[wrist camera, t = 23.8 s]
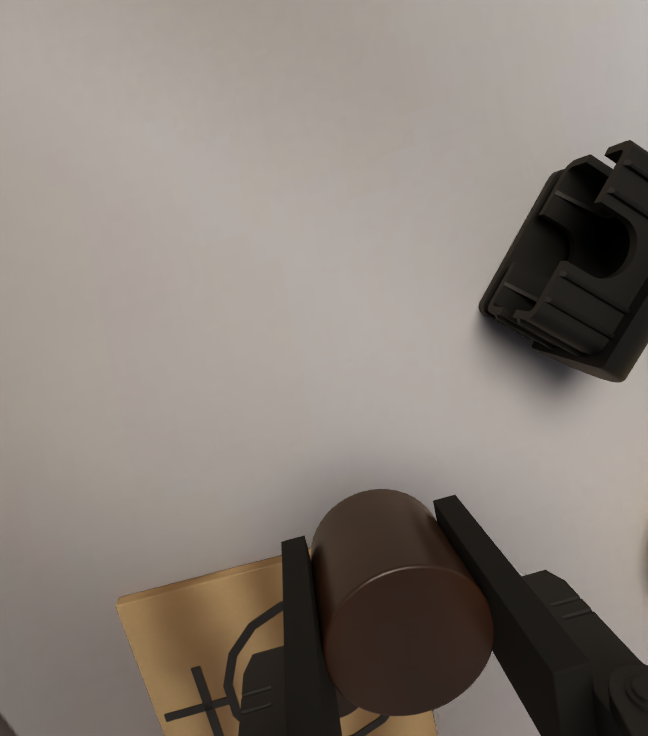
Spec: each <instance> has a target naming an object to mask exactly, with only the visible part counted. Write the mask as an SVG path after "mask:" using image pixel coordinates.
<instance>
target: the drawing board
mask: <svg viewBox="0 0 648 736" xmlns="http://www.w3.org/2000/svg"><path fill="white" fill-rule="evenodd" d="M308 551H309V555H310V558H311V548H308ZM116 609H117V612H118V615H119V617H120V620H121V622H122V625H123V628H124V630H125V633H126V636H127V638H128V641H129V643H130V646H131V649H132V651H133V654H134V657H135V659H136V662H137V664H138V667H139V670H140V672H141V675H142V678H143V680H144V683H145V685H146V688H147V691H148V693H149V696H150V699H151V701H152V704H153V706H154V709H155V712H156V714H157V717H158V719H159V722H160V725H161V727H162V730H163V733H164V735H165V736H238V733H239V720H240V716H241V713H240V708H241V698H242V683H243V673H244V671H245V669H246V667H247V665H248V663H249V661H250V658H251V656H252V654H255V653H259V652H262V651H266V650H269V649H273V648H276V647H280V646H283V645H284V627H283V584H282V555H281V556H277V557H273V558H269V559H265V560H261V561H258V562H254V563H250V564H246V565H242V566H238V567H235V568H231V569H227V570H223V571H219V572H215V573H211V574H208V575H204V576H200V577H196V578H192V579H188V580H185V581H181V582H177V583H173V584H169V585H165V586H162V587H158V588H154V589H150V590H146V591H142V592H139V593H135V594H131V595H127V596H123V597H120V598H119V599H118V601H117V604H116ZM340 723H341V730H342V736H437V732H436V727H435V722H434V717H433V712H432V710H431V711H428V712H425V713H421V714H417V715H410V716H386V715H380V714H375V713H372V712H369V711H366V710H364V709H362V708H360V707H359V708H358V709H357V710H355V711H354V712H352V713H351V714H349V715H347V716H345V717H342V718H340Z"/></svg>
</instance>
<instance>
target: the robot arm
mask: <svg viewBox="0 0 648 736" xmlns="http://www.w3.org/2000/svg"><path fill="white" fill-rule="evenodd" d="M433 503H434V508H435V513H436V518H437V523H438V524H439V526H440V527H441V529H442V530H443V532H444V533H445V535H446V536H447V538H448V539H449V541H450V542H451V544H452V546H453V547H454V549H455V550H456V552H457V553H458V555H459V556H460V558H461V559H462V561H463V562H464V564H465V565H466V567H467V569H468V570H469V572H470V573H471V575H472V576H473V578H474V579H475V581H476V582H477V584H478V585H479V587H480V588H481V590H482V592H483V593H484V595H485V596H486V598H487V599H488V602H489V605H490V608H491V613H492V619H493V624H494V631H495V638H494V644H493V649H492V651H493V653H494V654H495V656H496V658H497V660H498V661H499V663H500V665H501V667H502V668H503V670H504V672H505V674H506V675H507V677H508V679H509V681H510V682H511V684H512V686H513V688H514V689H515V691H516V693H517V695H518V696H519V698H520V700H521V702H522V703H523V705H524V707H525V708H526V710H527V712H528V714H529V715H530V717H531V719H532V721H533V722H534V724H535V726H536V728H537V729H538V731H539V733H540V735H541V736H648V665H645V664H643V663H642V662H641V661H640V660H639V659H638V658H637V657H636V656H635V655H634V654H633V653H632V652H631V651H630V650H629V648H628V647H627V646H626V645H625V644H624V643H623V642H622V641H621V640H620V639H619V638H618V637H617V636H616V635H615V634H614V633H613V631H612V630H611V629H610V628H609V627H608V626H607V625H606V624H605V623H604V622H603V621H602V620H601V619H600V618H599V617H598V615H597V614H596V613H595V612H592V610H591V608H590V607H589V606H588V605H587V604H586V603H585V602H584V601H583V599H580V597H579V595H578V594H577V593H576V592H575V591H574V590H573V589H572V588H571V587H570V586H569V585H568V584H567V582H566V581H565V580H563V579H561V578H559V577H557V576H556V575H554V574H552V573H550V572H548V571H547V570H543V571H539V572H536V573H532V574H529V575H525V576H522V577H521V576H520V575H519V573H518V572H517V571H516V570H515V568H514V567H513V566H512V565H511V563H510V562H509V561H508V560H507V558H506V557H505V556H504V555H503V553H502V552H501V551H500V550H499V549H498V547H497V546H496V545H495V544H494V542H493V541H492V540H491V539H490V537H489V536H488V535H487V534H486V532H485V531H484V530H483V529H482V527H481V526H480V525H479V524H478V522H477V521H476V520H475V519H474V518H473V516H472V515H471V514H470V513H469V511H468V510H467V509H466V508H465V506H464V505H463V504H462V503H461V501H460V500H459V499H458V498H457V496H456V495H452V496H449V497H445V498H441V499H438V500H434V501H433ZM282 584H283V627H284V645H283V646H280V647H276V648H273V649H269V650H266V651H262V652H259V653H255V654H252V656H251V658H250V661H249V663H248V665H247V667H246V669H245V671H244V673H243V683H242V698H241V708H240V713H241V716H240V720H239V733H238V736H342V730H341V723H340V717H339V710H338V703H337V696H336V689H335V686H334V685H333V683H332V681H331V679H330V678H329V675H328V672H327V668H326V664H325V661H324V657H323V650H322V642H321V634H320V626H319V618H318V610H317V602H316V594H315V586H314V578H313V570H312V562H311V558H310V555H309V551H308V547H307V544H306V540H305V536H301V537H297V538H294V539H290V540H286V541H283V542H282Z"/></svg>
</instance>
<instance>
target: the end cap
mask: <svg viewBox="0 0 648 736" xmlns="http://www.w3.org/2000/svg"><path fill="white" fill-rule="evenodd" d="M604 156H606V157H607V158H609V159H610V160H612V161H613V162H615V163H616V166H615V167H614V169H612V168H610V167H609V166H607V165H606V164H604V163H603V162H601V161H600V160H598V159H597V158H595V157H594V156H592V155H591V154H590V155H587V156H584V157H582V158H579V159H576V160H574V161H573V162H571V163H570V164H569V165H568V166H567V167H566V168H565V169H563V170H560V171H557V172H554V173H553V174H552V175H551V176H550V177H549V179H548V181H547V183H546V185H545V186H544V188H543V190H542V192H541V194H540V195H539V197H538V199H537V201H536V203H535V204H534V206H533V208H532V210H531V212H530V213H529V215H528V217H527V219H526V220H525V222H524V224H523V226H522V228H521V229H520V231H519V233H518V235H517V237H516V238H515V240H514V242H513V244H512V246H511V247H510V249H509V251H508V253H507V255H506V256H505V258H504V260H503V262H502V264H501V265H500V267H499V269H498V271H497V273H496V274H495V276H494V278H493V280H492V282H491V283H490V285H489V287H488V289H487V291H486V292H485V294H484V296H483V298H482V300H481V302H480V305H479V307H480V311H481V312H482V313H483V314H484V315H486V316H488V317H490V318H492V319H493V320H495V321H497V322H499V323H501V324H503V325H504V326H506V327H508V328H510V329H512V330H513V331H515V332H517V333H519V334H521V335H523V336H524V337H526V338H528V339H530V340H532V341H534V342H533V344H532V348H533V349H535V350H537V351H539V352H541V353H543V354H545V355H547V356H549V357H551V358H553V359H555V360H557V361H559V362H561V363H563V364H566V365H568V366H570V367H572V368H575V369H577V370H580V371H582V372H584V373H587V374H590V375H592V376H595V377H598V378H601V379H604V380H607V381H611V382H622V381H624V380H625V379H626V378H627V376H628V374H629V373H630V371H631V370H632V368H633V366H634V365H635V363H636V362H637V360H638V358H639V357H640V355H641V354H642V352H643V350H644V349H645V347H646V345H647V344H648V152H647V151H646V150H644V149H643V148H641V147H640V146H638V145H637V144H635V143H634V142H633V141H631V140H629V141H625V142H623V143H620V144H617V145H614V146H612V147H609V148H608V150H607V152H606V154H605V155H604Z"/></svg>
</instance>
